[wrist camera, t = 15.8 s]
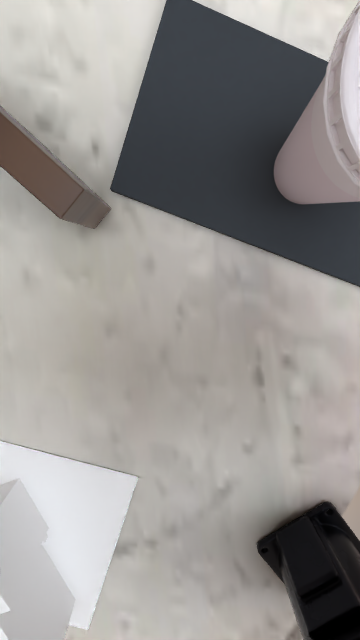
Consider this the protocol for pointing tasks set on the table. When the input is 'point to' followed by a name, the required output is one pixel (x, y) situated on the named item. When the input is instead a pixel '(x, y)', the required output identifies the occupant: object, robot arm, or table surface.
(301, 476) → the table surface
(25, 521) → the napkin holder
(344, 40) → the smoothie
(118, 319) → the table surface
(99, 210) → the frame
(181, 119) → the mat
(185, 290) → the table surface
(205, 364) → the table surface
